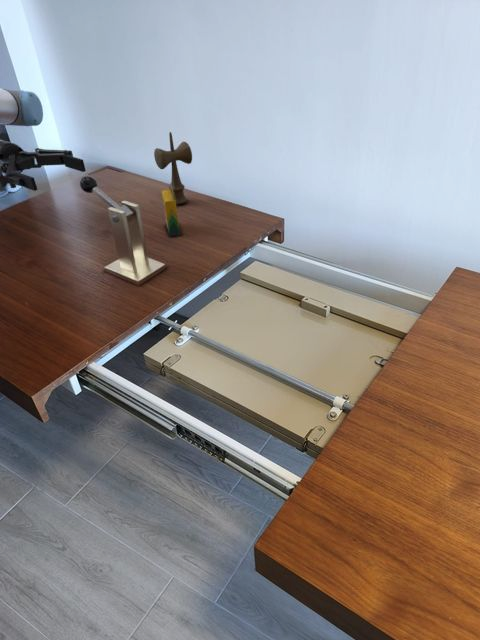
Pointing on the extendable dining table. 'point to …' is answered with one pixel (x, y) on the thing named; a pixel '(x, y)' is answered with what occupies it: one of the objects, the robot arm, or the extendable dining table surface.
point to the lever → (103, 195)
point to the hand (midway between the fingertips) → (59, 174)
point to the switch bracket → (131, 247)
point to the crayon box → (170, 212)
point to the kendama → (174, 166)
